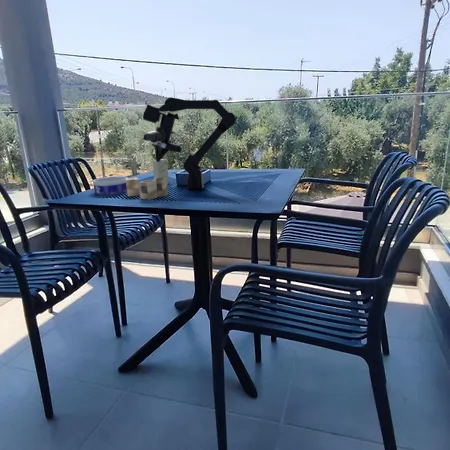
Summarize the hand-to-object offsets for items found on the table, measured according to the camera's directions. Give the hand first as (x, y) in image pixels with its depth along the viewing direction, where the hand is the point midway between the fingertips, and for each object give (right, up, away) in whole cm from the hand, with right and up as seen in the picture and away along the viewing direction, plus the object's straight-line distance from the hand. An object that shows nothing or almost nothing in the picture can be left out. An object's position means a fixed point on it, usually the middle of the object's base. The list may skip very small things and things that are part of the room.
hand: (157, 161), depth 160 cm
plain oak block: (-10, -15, -3) cm, 18 cm away
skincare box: (-1, -8, +18) cm, 20 cm away
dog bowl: (-22, -13, +6) cm, 26 cm away
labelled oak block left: (+3, -16, -7) cm, 17 cm away
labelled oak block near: (-1, -17, -11) cm, 20 cm away
